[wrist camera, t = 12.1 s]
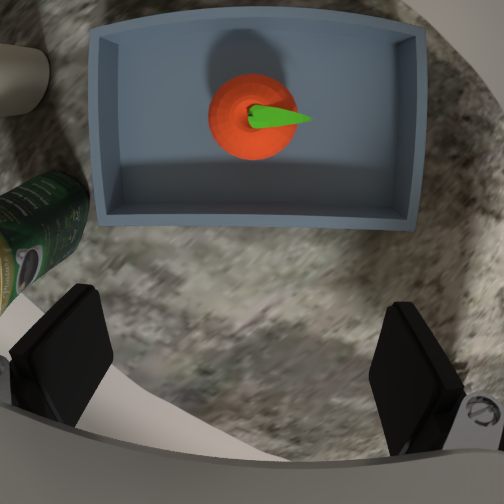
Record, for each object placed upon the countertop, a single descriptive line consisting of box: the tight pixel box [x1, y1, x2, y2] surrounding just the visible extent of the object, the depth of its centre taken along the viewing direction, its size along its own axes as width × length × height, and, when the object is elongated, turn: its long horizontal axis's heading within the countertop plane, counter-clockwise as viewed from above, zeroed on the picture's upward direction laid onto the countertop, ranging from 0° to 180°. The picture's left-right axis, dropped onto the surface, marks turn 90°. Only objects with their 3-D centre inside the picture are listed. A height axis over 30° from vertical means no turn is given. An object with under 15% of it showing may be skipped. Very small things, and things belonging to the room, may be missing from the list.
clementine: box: [208, 74, 314, 160], centre depth 23 cm, size 8×7×7 cm
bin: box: [88, 6, 428, 231], centre depth 25 cm, size 28×18×5 cm, turn 90°
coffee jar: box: [0, 171, 89, 316], centre depth 23 cm, size 10×8×19 cm
